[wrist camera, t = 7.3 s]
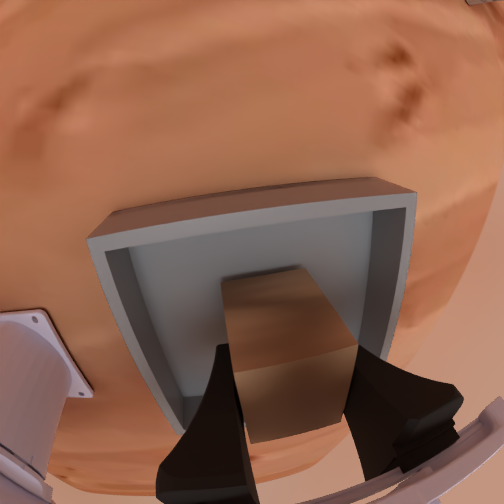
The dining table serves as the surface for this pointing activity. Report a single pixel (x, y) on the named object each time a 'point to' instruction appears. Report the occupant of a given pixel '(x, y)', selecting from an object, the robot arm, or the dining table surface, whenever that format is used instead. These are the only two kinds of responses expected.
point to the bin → (248, 270)
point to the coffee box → (479, 1)
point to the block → (287, 354)
